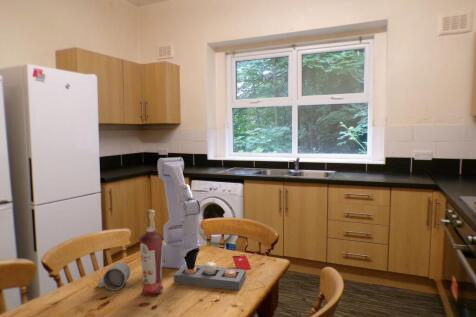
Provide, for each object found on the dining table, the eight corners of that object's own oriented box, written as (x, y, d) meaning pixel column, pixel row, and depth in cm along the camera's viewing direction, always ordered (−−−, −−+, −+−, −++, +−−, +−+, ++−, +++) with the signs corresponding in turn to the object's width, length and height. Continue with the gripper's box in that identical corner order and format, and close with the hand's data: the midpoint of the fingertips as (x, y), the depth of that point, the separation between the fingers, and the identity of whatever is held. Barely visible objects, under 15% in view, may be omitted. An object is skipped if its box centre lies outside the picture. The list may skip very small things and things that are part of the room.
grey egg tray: (173, 283, 117) (173, 274, 117) (185, 271, 127) (185, 264, 127) (239, 290, 111) (238, 281, 111) (245, 277, 121) (245, 269, 121)
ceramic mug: (132, 279, 121) (130, 259, 120) (125, 290, 112) (124, 268, 112) (102, 281, 120) (101, 260, 119) (94, 291, 112) (92, 269, 111)
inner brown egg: (183, 278, 120) (183, 270, 119) (188, 273, 123) (187, 265, 123) (194, 279, 119) (193, 271, 118) (198, 274, 122) (197, 266, 122)
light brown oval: (223, 282, 116) (223, 274, 116) (226, 277, 120) (226, 269, 119) (234, 283, 115) (234, 275, 115) (237, 278, 119) (236, 270, 118)
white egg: (203, 274, 117) (202, 266, 117) (206, 269, 121) (206, 261, 121) (213, 275, 116) (213, 267, 116) (217, 270, 120) (217, 262, 120)
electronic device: (251, 270, 129) (245, 256, 144) (251, 268, 129) (245, 255, 144) (237, 271, 128) (232, 257, 143) (236, 269, 128) (232, 256, 143)
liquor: (168, 290, 112) (166, 209, 110) (152, 299, 105) (149, 214, 103) (153, 285, 116) (150, 207, 114) (136, 294, 109) (133, 211, 107)
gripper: (192, 239, 112) (193, 278, 113) (207, 227, 126) (207, 262, 127) (173, 238, 113) (174, 276, 114) (190, 226, 128) (190, 260, 128)
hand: (190, 268), depth 121 cm, fingers closed, pressing on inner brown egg
